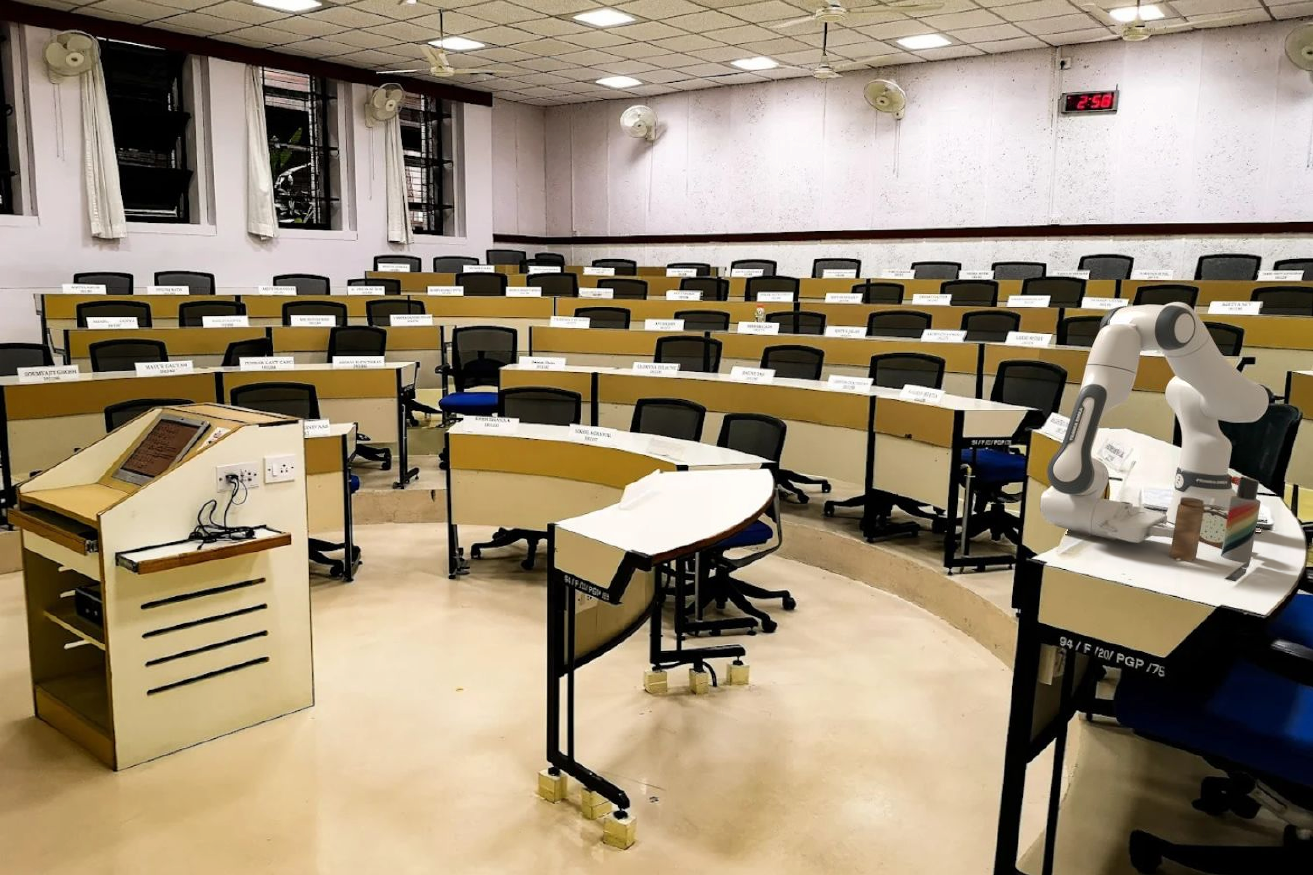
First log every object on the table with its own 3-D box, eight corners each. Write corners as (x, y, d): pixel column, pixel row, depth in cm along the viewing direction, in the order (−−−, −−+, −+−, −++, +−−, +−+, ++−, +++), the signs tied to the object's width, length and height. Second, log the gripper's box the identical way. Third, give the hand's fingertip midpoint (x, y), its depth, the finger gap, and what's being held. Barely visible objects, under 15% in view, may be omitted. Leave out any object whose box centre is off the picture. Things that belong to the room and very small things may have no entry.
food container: (1251, 557, 218) (1258, 516, 216) (1230, 558, 216) (1237, 516, 214) (1206, 542, 229) (1213, 502, 227) (1186, 543, 227) (1193, 502, 226)
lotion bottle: (1216, 558, 215) (1231, 473, 212) (1244, 562, 214) (1260, 476, 210) (1223, 565, 210) (1238, 478, 206) (1252, 569, 208) (1268, 481, 205)
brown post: (1166, 558, 208) (1175, 500, 205) (1177, 551, 214) (1186, 495, 211) (1188, 563, 205) (1197, 504, 202) (1199, 556, 211) (1208, 499, 208)
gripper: (1097, 513, 211) (1164, 527, 202) (1128, 500, 226) (1191, 513, 216) (1093, 540, 212) (1159, 555, 203) (1124, 525, 227) (1187, 539, 218)
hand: (1176, 533), depth 210 cm, fingers closed, pressing on brown post
